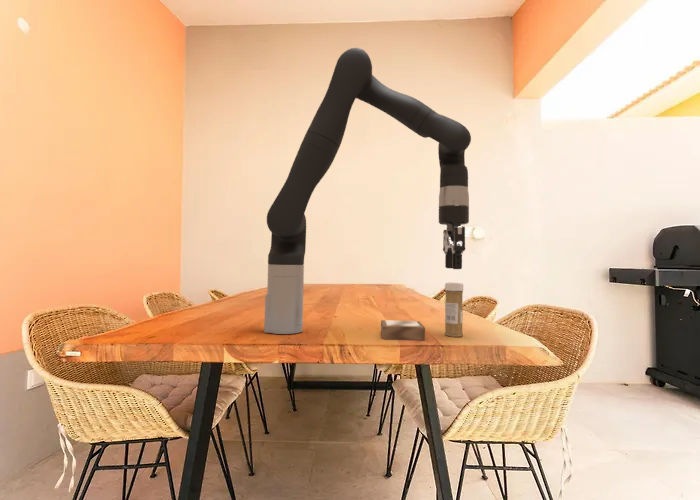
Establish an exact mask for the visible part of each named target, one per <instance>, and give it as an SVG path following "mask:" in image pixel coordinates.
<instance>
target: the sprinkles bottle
mask: <svg viewBox="0 0 700 500" xmlns="http://www.w3.org/2000/svg"><path fill="white" fill-rule="evenodd" d="M444 290H445V291H444V292H445V299H444V300H445V302H444V303H445V304H444V306H445V307H444V313H445V314H444V323H445V324H444V325H445V329H444V330H445V331H444V335H445V336H448V337H450V338H451V337H453V338H459V337H460V338H461V337H462V336H463V335H464V333H463V319H464V316H463V315H464V314H463V312H464V311H463V294H464V293H463V292H464V283H462V282H445V284H444Z"/></svg>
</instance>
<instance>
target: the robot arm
mask: <svg viewBox="0 0 700 500" xmlns="http://www.w3.org/2000/svg"><path fill="white" fill-rule="evenodd" d="M335 63H336V64H335V67H334V69H333V73H332V76H331V79H330V82H329V84H328V87H327V90H326V93H325V94H324V97H323V98H322V101H321V103H320V105H319V106H318V108H317V111H316V112H315V114H314V116H313V117H312V120H311V123H310V125H309V126H308V128H307V131H306V132H305V134H304V136H303V138H302V141H301V144H300V145H299V148H298V151H297V153H296V156H295V158H294V160H293V162H292V165H291V167H290V170H289V172H288V176H287V178H286V179H285V182H284V184H283V185H282V187H281V189H280V190H279V192H278V194H277V196H276V197H275V198H274V201H273V202H272V204H271V206H270V207H269V209H268V211H267V214H266V225H267V228H268V230H269V231H270V232H271V237H270V238H271V239H270V242H271V243H270V249H269V253H268V254H267V291H266V292H267V293H266V294H265V295H264V321H263V322H264V327H263V328H264V330H263V332H264V333H269V334H274V335H291V334H299V333H301V332H303V328H304V327H303V326H304V322H303V320H304V319H303V317H304V316H303V315H304V314H303V313H304V283H305V282H304V278H305V277H304V275H305V273H304V272H305V270H304V269H305V255H306V245H307V244H306V243H307V242H306V241H307V240H306V239H307V217H306V215H305V212H306V209H307V206H308V204H309V202H310V198H311V197H312V194H313V192H314V191H315V188H316V187H317V186H318V184H319V183H320V182H321V181H322V179H323V178H324V177H325V175H326V174H327V172H328V170H329V169H330V168H331V166H332V164H333V162H334V160H335V158H336V156H337V154H338V151H339V150H340V147H341V144H342V143H343V142H342V141H343V139H344V136H345V132H346V129H347V125H348V120H349V117H350V113H351V110H352V107H353V105H354V103H355V100H356V99H358V100H359V101H362V102H364V103H366V104H369V105H370V106H372V107H373V108H376V109H378V110H379V111H381V112H384V113H385V114H387V115H388V116H390V117H392V118H393V119H394V120H396V121H398V122H399V123H400V124H402V125H404V127H405V128H408V129H409V130H411V132H413V133H415V134H417V135H418V136H420V137H422V138H426V139H427V138H430V139H432V140H433V141H436V142H437V143H438V147H437V148H438V161H439V163H438V164H439V168H440V171H439V174H440V175H439V193H438V194H439V195H438V224H440V225H443V226H446V229H443V232H442V233H443V237H442V238H443V240H442V241H443V243H442V244H443V246H442V247H443V248H442V251H443V253H444V254H445V259H444V260H445V262H444V267H445V269H453V270H462V268H463V254H464V252H465V251H466V227H465V225H467V224H469V222H470V194H469V170H468V167H467V166H466V163H465V155H466V154H465V151H466V150H467V149H468V147H469V146H470V144H471V143H472V142H471V141H472V135H471V132H470V131H469V130H468V128H467V127H466V126H465V125H463V124H462V123H461V122H459V121H457V120H455V119H453V118H450V117H449V116H446V115H443V114H440V113H438V112H436V111H435V110H434V109H432V108H431V107H430V106H428V105H427V104H425V103H423V102H422V101H420V100H419V99H417V98H415V97H413V96H411V95H408V94H404V93H402V92H399V91H397V90H393V89H392V88H389V87H388V86H387V85H385V84H384V83H382V82H381V81H380V80H379V79H377V77H376V76H375V75H373V64H372V60H371V58H370V56H369V54H368V53H367V51H365V50H364V49H362V48H359V47H352V48H349V49H347V50H345V51H343V52H342V53H341V55H340V56H339V57H338V59H337V61H336V62H335Z"/></svg>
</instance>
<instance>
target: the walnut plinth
mask: <svg viewBox="0 0 700 500" xmlns="http://www.w3.org/2000/svg"><path fill="white" fill-rule="evenodd" d="M380 334H381V337H382V340H395V341H396V340H397V341H398V340H403V341H405V340H406V341H425V339H426V328H425V326H424V324H423V323H421V321H420V320H419V321H417V320H395V319H394V320H392V319H390V320H389V319H388V320H387V319H386V320H381V321H380Z"/></svg>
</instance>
